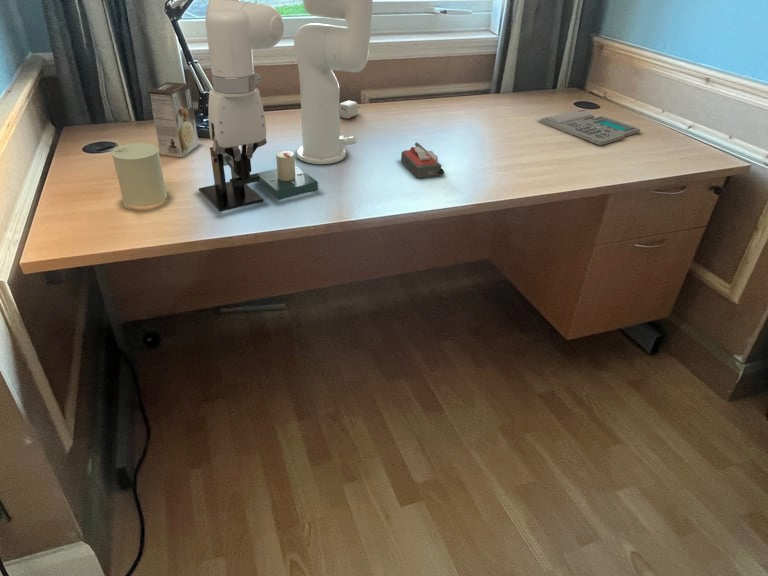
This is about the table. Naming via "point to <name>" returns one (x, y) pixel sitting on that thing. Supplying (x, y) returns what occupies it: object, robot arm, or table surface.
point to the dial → (285, 165)
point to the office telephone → (590, 126)
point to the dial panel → (287, 184)
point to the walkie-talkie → (421, 162)
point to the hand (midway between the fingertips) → (243, 176)
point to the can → (139, 174)
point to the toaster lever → (237, 181)
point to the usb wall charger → (348, 109)
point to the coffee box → (174, 118)
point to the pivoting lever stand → (227, 188)
